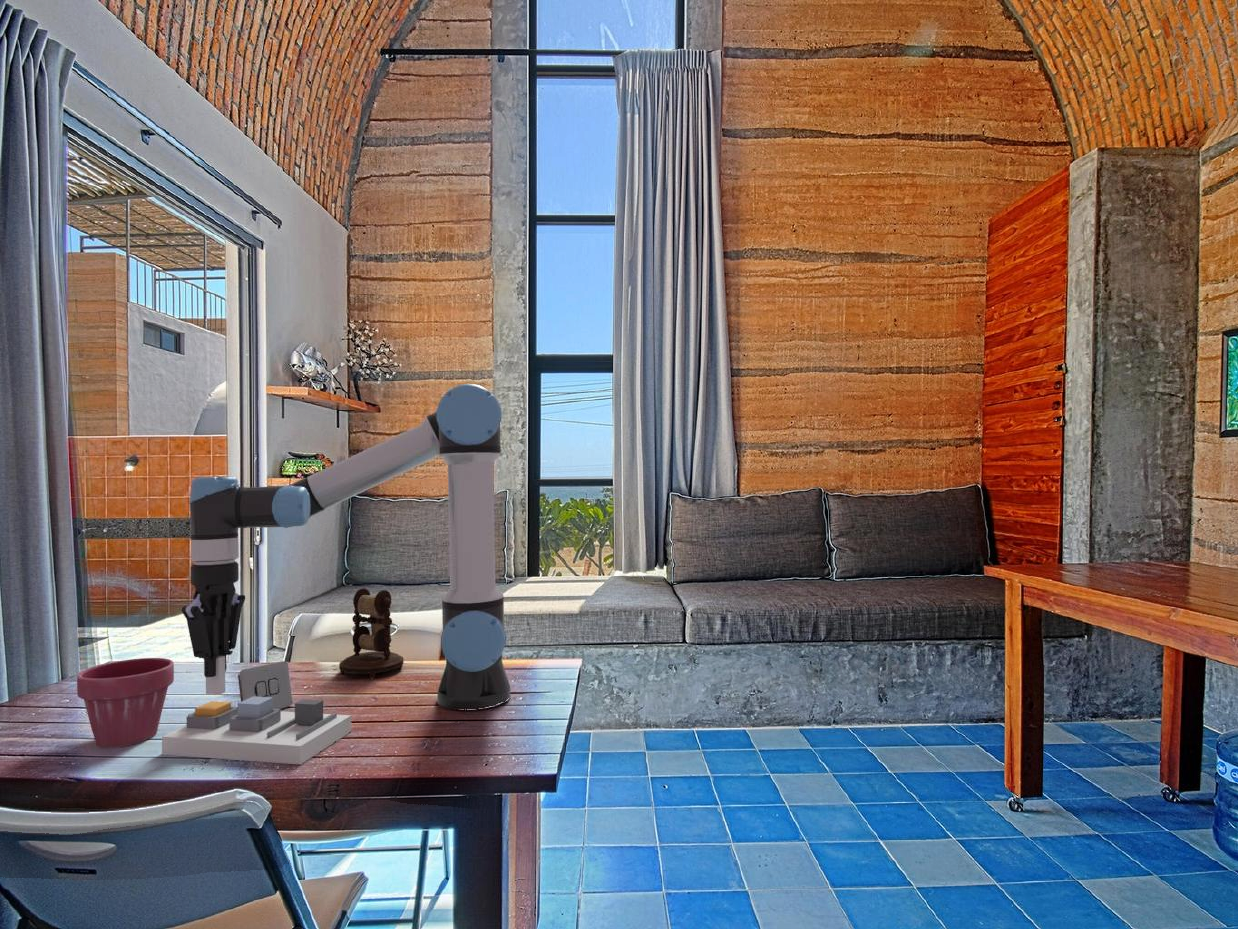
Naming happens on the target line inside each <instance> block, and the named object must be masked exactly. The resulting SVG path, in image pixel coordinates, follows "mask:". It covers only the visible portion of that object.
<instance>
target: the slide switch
mask: <svg viewBox="0 0 1238 929" xmlns="http://www.w3.org/2000/svg"><path fill="white" fill-rule="evenodd" d="M294 712H295V724H305V725H314V724H315V723H317V722H319V721H321V720H322V719H323V714H324V700H323V699H321V700H320V699H308V698H307V699H304V698H303V699H301V700H299V701H297V702H295V703H294Z"/></svg>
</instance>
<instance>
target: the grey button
mask: <svg viewBox="0 0 1238 929" xmlns="http://www.w3.org/2000/svg"><path fill="white" fill-rule="evenodd" d="M237 707H238V718H249V719H260V718H262V717H264V716H266V715H268V714H270V713H272V712H273V697H255V696H253V697H251V698H249V699H246V700H244V701H242V702H241V701H240V702H237Z"/></svg>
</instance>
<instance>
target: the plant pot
mask: <svg viewBox="0 0 1238 929" xmlns="http://www.w3.org/2000/svg"><path fill="white" fill-rule="evenodd" d="M174 678H175V665H174V661H173V660H171V659H168V658H165V657H164V658H162V657H143V658H141V657H139V658H132V659H123V660H117V661H113V662H108V663H103V664H99V665H96V666H93V667H89V668H87V669H85V670H83V671H81V672H80V673H78V674H77V677H76V679H77V680H76V693H77V694H76V695H77V697H78V698H79V699H81V700H83V701H84V705H85V709H86V714H87V717H88V721H89V724H90V728H91V731H92V735H93V738H94V742H95V745H96V746H98V747H100V748H119V747H124V746H126V747H127V746H130V745H135V744H138V743H141V742H144V741H147V740H149V739H151V738H153V737H154V736H155V735H156V734H157V733H158V729H159V726H160V721H161V716H162V712H163V708H164V705H165V701H166V697H167V692H168V689H169V687H170V686H171V685H172V684H173V683H174V680H175V679H174Z"/></svg>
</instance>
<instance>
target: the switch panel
mask: <svg viewBox="0 0 1238 929" xmlns="http://www.w3.org/2000/svg"><path fill="white" fill-rule="evenodd" d="M185 722H186V725H185V726H183V727H180V728H179V729H176V730H174V731H172V732H170V733H168V734H165V735H163V736H162V737H161V755H164V756H165V755H166V756H176V757H177V756H178V757H179V756H180V757H189V758H190V757H191V758H207V759H219V760H230V761H231V760H232V761H233V760H234V761H246V762H259V763H260V762H261V763H272V764H273V763H274V764H290V765H302V764H304V763H305V762H307V761H308V760H310V759H311V758H313V757H314V756H317V754H319V753H320V751H321V752H322V751H324V750H325V749H327V748H328V747H330V746H331V745H333V744H335V743H336V742H338V741H339V740H340V739H343V738H344V737H346V736H347V735H349V734H350V733H352V715H351V714H350V715H348V714H337V713H336V712H333V713H323V719H322V720H321V721H319V722H317V723H315V724H314V725H305V724H295V711H281V709H273V712H272V713H270V714H268V715H266V716H264V717H262V718H260V719H249V718H238V706H232V705H231V709H230V710H228V711H226V712H224V713H222V714H219V715H217V716H200V715H195V711H193V712H191V713H189V714H188V715H186V721H185ZM349 732H350V733H349ZM335 741H336V742H335ZM334 742H335V743H334Z"/></svg>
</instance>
